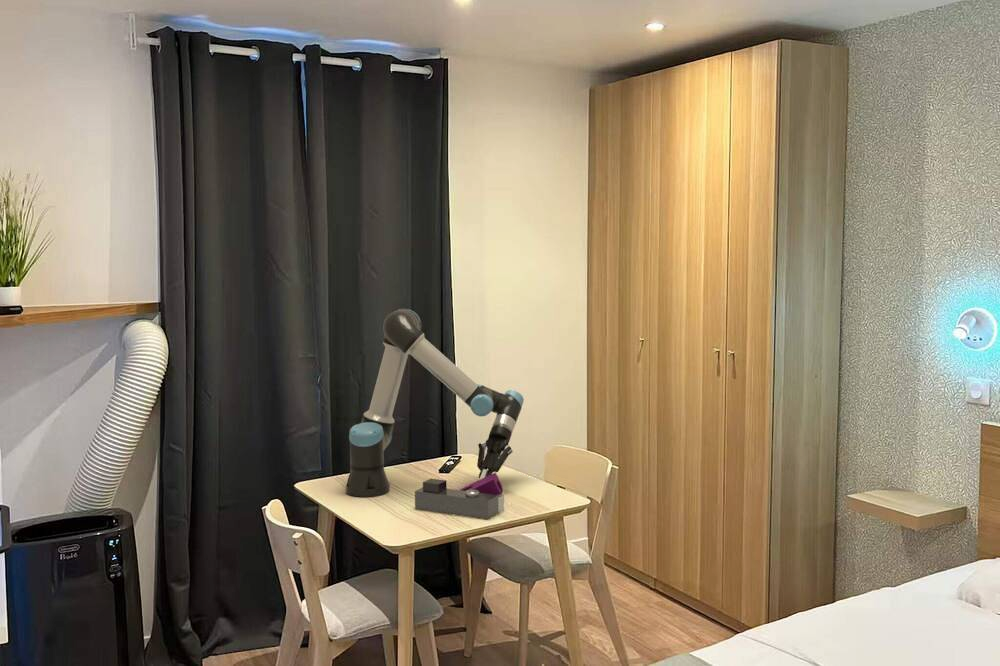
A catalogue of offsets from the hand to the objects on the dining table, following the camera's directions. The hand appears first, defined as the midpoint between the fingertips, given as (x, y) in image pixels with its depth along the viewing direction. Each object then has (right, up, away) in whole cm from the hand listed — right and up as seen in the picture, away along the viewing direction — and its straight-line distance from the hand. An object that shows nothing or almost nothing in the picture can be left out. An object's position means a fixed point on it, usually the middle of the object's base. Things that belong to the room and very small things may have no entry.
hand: (480, 487), depth 298 cm
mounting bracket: (-2, -5, -6) cm, 8 cm away
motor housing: (-7, -5, -13) cm, 15 cm away
